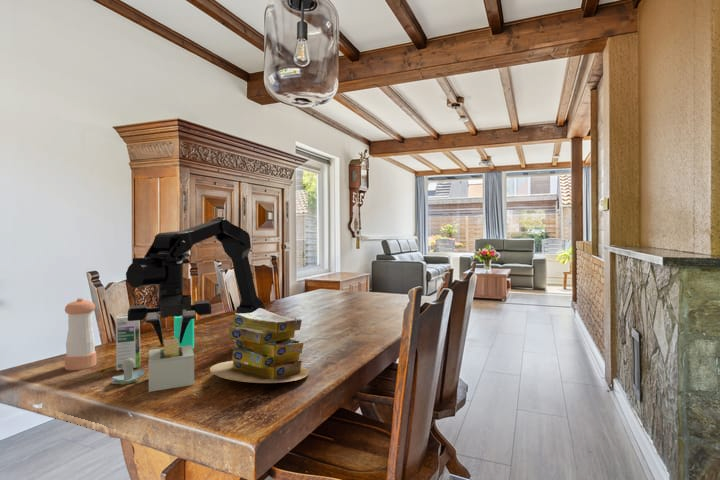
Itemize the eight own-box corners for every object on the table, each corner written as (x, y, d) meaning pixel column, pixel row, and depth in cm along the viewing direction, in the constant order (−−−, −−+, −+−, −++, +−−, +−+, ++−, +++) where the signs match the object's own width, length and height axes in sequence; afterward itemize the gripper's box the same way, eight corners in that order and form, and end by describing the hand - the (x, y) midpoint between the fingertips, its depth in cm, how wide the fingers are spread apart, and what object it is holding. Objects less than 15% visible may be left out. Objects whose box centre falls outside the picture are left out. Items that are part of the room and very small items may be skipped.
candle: (186, 351, 126) (186, 313, 126) (170, 350, 127) (169, 312, 127) (198, 346, 132) (197, 310, 132) (181, 345, 133) (181, 309, 133)
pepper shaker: (68, 363, 114) (68, 297, 114) (98, 360, 117) (98, 295, 117) (61, 372, 107) (60, 301, 107) (93, 368, 110) (92, 299, 110)
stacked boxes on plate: (270, 356, 122) (270, 301, 121) (327, 375, 106) (327, 312, 105) (192, 378, 103) (191, 314, 103) (247, 406, 87) (247, 329, 86)
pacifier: (105, 384, 100) (117, 389, 96) (104, 359, 100) (116, 363, 96) (135, 375, 106) (147, 379, 102) (135, 352, 106) (146, 355, 102)
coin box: (191, 371, 108) (191, 345, 107) (194, 384, 99) (194, 355, 99) (149, 377, 103) (149, 350, 103) (148, 391, 94) (148, 361, 94)
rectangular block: (177, 349, 104) (177, 338, 104) (178, 356, 99) (178, 344, 99) (164, 351, 103) (164, 339, 103) (164, 358, 97) (164, 346, 97)
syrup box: (115, 371, 108) (115, 317, 108) (117, 364, 114) (117, 313, 113) (139, 367, 111) (139, 315, 111) (140, 361, 116) (139, 312, 116)
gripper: (125, 289, 89) (126, 358, 89) (213, 284, 97) (214, 347, 98) (128, 283, 99) (129, 345, 99) (208, 279, 107) (209, 336, 108)
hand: (171, 344), depth 101 cm, fingers open, 4 cm apart
